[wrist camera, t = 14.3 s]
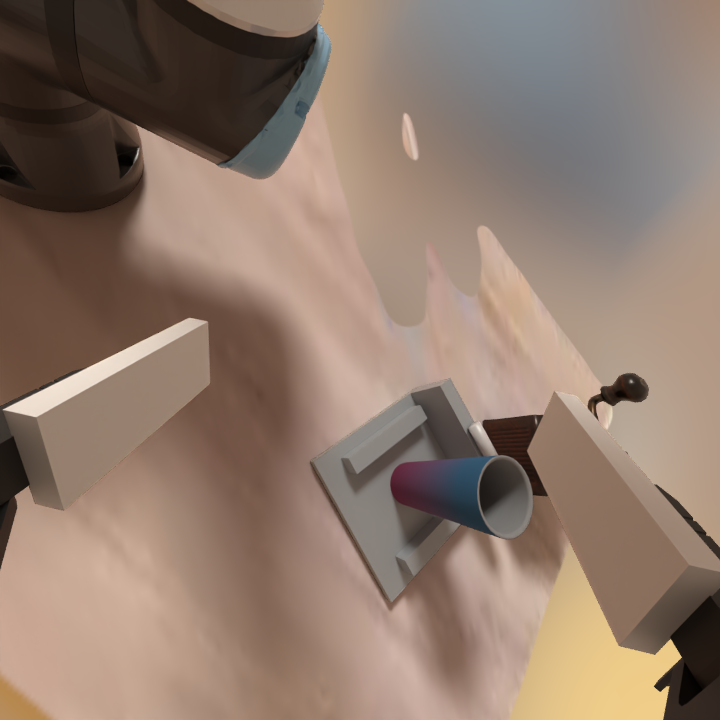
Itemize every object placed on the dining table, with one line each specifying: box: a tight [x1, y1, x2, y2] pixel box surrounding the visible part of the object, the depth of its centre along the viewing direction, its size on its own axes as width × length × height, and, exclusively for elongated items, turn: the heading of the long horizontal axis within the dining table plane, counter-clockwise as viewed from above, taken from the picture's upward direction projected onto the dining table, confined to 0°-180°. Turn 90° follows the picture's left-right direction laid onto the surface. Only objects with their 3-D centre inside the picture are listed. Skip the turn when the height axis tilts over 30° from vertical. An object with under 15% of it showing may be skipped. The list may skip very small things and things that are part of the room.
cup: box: [390, 455, 533, 539], centre depth 36 cm, size 7×7×15 cm
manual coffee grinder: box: [483, 373, 649, 496], centre depth 46 cm, size 16×11×18 cm
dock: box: [310, 378, 498, 603], centre depth 40 cm, size 18×18×9 cm
